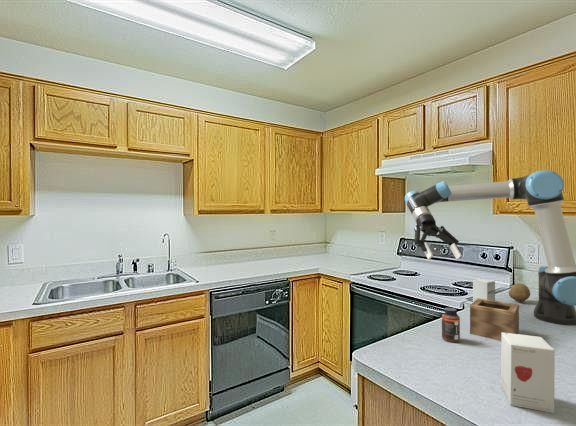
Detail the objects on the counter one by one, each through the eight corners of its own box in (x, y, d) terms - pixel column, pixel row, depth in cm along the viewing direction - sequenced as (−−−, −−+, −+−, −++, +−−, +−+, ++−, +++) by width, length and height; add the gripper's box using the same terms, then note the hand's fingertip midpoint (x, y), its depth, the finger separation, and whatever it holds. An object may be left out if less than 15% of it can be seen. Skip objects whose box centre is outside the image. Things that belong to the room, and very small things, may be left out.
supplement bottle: (462, 343, 115) (462, 311, 115) (444, 342, 116) (444, 310, 116) (456, 337, 121) (456, 307, 121) (439, 336, 122) (439, 306, 122)
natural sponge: (533, 305, 162) (533, 285, 162) (512, 303, 165) (512, 284, 165) (527, 301, 170) (527, 282, 170) (507, 299, 174) (507, 281, 174)
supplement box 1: (487, 308, 158) (487, 282, 158) (472, 304, 164) (472, 279, 164) (495, 306, 161) (495, 280, 161) (480, 302, 168) (480, 278, 168)
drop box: (519, 332, 125) (518, 304, 125) (514, 343, 115) (514, 312, 115) (478, 324, 135) (478, 298, 135) (470, 333, 124) (470, 305, 124)
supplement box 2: (509, 406, 78) (509, 344, 78) (500, 387, 86) (500, 331, 86) (556, 414, 75) (555, 349, 75) (541, 394, 83) (541, 335, 83)
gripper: (443, 225, 151) (465, 263, 137) (395, 223, 145) (413, 262, 131) (452, 214, 146) (476, 252, 132) (403, 212, 140) (422, 251, 126)
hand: (445, 257), depth 131 cm, fingers open, 13 cm apart
